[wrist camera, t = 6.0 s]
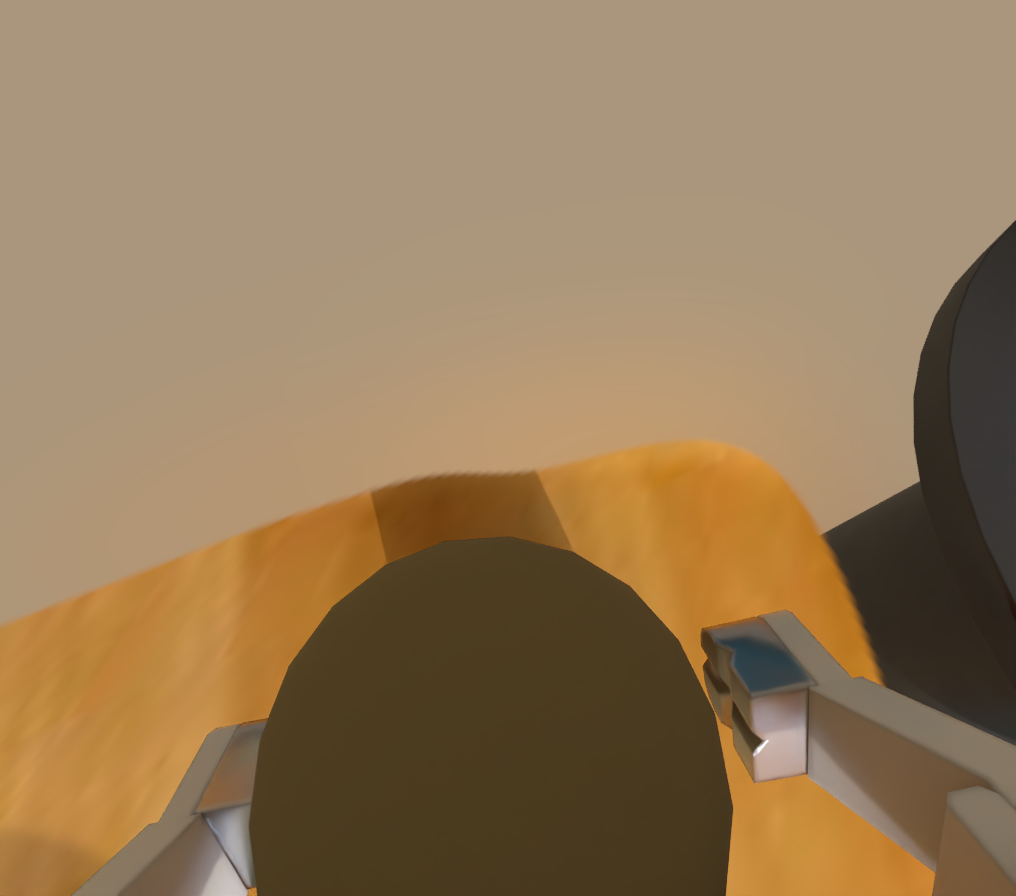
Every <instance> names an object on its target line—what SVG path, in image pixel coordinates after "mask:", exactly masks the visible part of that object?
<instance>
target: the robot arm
mask: <svg viewBox="0 0 1016 896" xmlns="http://www.w3.org/2000/svg"><path fill="white" fill-rule="evenodd" d="M701 647H702V648H703V650H704V652H705V653H706V655H707V657H708V659H707V660H706V662H705V663H704V665H703V671H704V679H705V684H706V687H707V691H708V695H709V698H710V700H711V703H712V705H713V707H714V710H715V712H716V714H717V716H718V717H719V719H720V721H721V723H723V724H724V725H726V726H728V727H729V728H731V729H732V730H733V744H734V747H735V749H736V751H737V753H738V755H739V757H740V758H741V760H742V762H743V764H744V766H745V767H746V769H747V771H748V773H749V775H750V777H751V778H752V780H753V782H754V783H759V782H765V781H770V780H776V779H782V778H788V777H793V776H799V775H805V774H808V777H809V778H810V779H811V780H813V781H814V782H815V783H816V784H818V785H819V786H820V787H822V788H823V789H824V790H826V791H827V792H828V793H830V794H831V795H832V796H834V797H835V798H836V799H838V800H839V801H840V802H842V803H843V804H844V805H846V806H847V807H848V808H850V809H851V810H852V811H854V812H855V813H856V814H858V815H859V816H860V817H862V818H863V819H864V820H866V821H867V822H868V823H870V824H871V825H872V826H874V827H875V828H876V829H878V830H879V831H880V832H882V833H883V834H884V835H886V836H887V837H888V838H890V839H891V840H892V841H894V842H895V843H896V844H898V845H899V846H900V847H902V848H903V849H904V850H906V851H907V852H908V853H910V854H911V855H912V856H914V857H915V858H916V859H918V860H919V861H920V862H922V863H923V864H924V865H926V866H927V867H928V868H930V869H931V870H932V871H934V872H935V880H934V887H933V893H932V896H1016V746H1014V745H1012V744H1010V743H1008V742H1006V741H1003V740H1001V739H999V738H997V737H994V736H992V735H990V734H988V733H986V732H983V731H981V730H979V729H977V728H974V727H972V726H970V725H968V724H966V723H963V722H961V721H959V720H957V719H954V718H952V717H950V716H948V715H946V714H943V713H941V712H939V711H937V710H935V709H932V708H930V707H928V706H926V705H923V704H921V703H919V702H917V701H915V700H912V699H910V698H908V697H906V696H903V695H901V694H899V693H897V692H895V691H892V690H890V689H888V688H886V687H883V686H881V685H879V684H877V683H875V682H872V681H870V680H868V679H866V678H864V677H857V678H852V677H851V676H850V675H849V674H848V673H847V672H846V671H845V670H844V669H843V667H842V666H841V665H840V664H839V663H838V662H837V661H836V660H835V659H834V658H833V657H832V656H831V654H830V653H829V652H828V651H827V650H826V649H825V648H824V647H823V646H822V645H821V644H820V643H819V641H818V640H817V639H816V638H815V637H814V636H813V635H812V634H811V633H810V632H809V631H808V629H807V628H806V627H805V626H804V625H803V624H802V623H801V622H800V621H799V620H798V619H797V618H796V616H795V615H794V614H793V613H792V612H790V611H788V610H782V611H777V612H773V613H768V614H764V615H759V616H757V617H751V618H747V619H742V620H738V621H733V622H728V623H724V624H719V625H715V626H710V627H706V628H702V630H701ZM267 720H268V718H266V719H261V720H255V721H250V722H244V723H242V724H237V725H231V726H226V727H220V728H216V729H214V730H213V731H212V732H211V733H209V734H208V735H207V737H206V738H205V740H204V742H203V744H202V745H201V747H200V749H199V751H198V752H197V754H196V756H195V758H194V760H193V761H192V763H191V765H190V767H189V769H188V770H187V772H186V774H185V776H184V777H183V779H182V781H181V783H180V785H179V786H178V788H177V790H176V792H175V793H174V795H173V797H172V799H171V801H170V802H169V804H168V806H167V808H166V810H165V811H164V813H163V815H162V817H161V818H160V820H159V822H157V823H152V824H149V825H148V826H147V827H146V828H144V829H143V830H142V831H141V832H140V833H139V834H138V835H137V836H136V837H135V838H133V839H132V840H131V841H130V842H129V843H128V844H127V845H126V846H125V847H124V848H123V849H121V850H120V851H119V852H118V853H117V854H116V855H115V856H114V857H113V858H112V859H111V860H109V861H108V862H107V863H106V864H105V865H104V866H103V867H102V868H101V869H100V870H99V871H97V872H96V873H95V874H94V875H93V876H92V877H91V878H90V879H89V880H88V881H86V882H85V883H84V884H83V885H82V886H81V887H80V888H79V889H78V890H77V891H76V892H74V893H73V894H72V895H71V896H246V895H247V894H248V890H247V889H251V888H255V887H256V880H255V873H254V865H253V857H252V850H251V842H250V834H249V826H248V825H249V818H250V810H251V802H252V795H253V787H254V779H255V771H256V764H257V756H258V748H259V741H260V738H261V735H262V733H263V730H264V728H265V725H266V723H267Z"/></svg>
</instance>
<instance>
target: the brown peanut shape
mask: <svg viewBox="0 0 1016 896" xmlns="http://www.w3.org/2000/svg"><path fill="white" fill-rule="evenodd" d="M732 815H733V805H732V800H731V794H730V789H729V784H728V779H727V773H726V768H725V763H724V758H723V752H722V747H721V742H720V737H719V732H718V726H717V721H716V717H715V713H714V711H713V709H712V707H711V705H710V703H709V701H708V699H707V697H706V695H705V693H704V691H703V688H702V686H701V684H700V682H699V680H698V678H697V676H696V674H695V672H694V670H693V668H692V666H691V664H690V662H689V660H688V658H687V656H686V654H685V652H684V650H683V648H682V646H681V644H680V642H679V640H678V639H677V638H676V637H675V636H674V634H673V633H672V632H671V631H670V630H669V629H668V628H667V627H666V626H665V624H664V623H663V622H662V621H661V620H660V619H659V618H658V617H657V616H656V615H655V613H654V612H653V611H652V610H651V609H650V608H649V607H648V606H647V605H646V603H645V602H644V601H643V600H642V599H641V598H640V597H639V596H638V595H637V594H636V592H635V591H634V590H633V589H632V588H631V587H630V586H629V585H627V584H625V583H624V582H622V581H620V580H619V579H617V578H616V577H614V576H612V575H611V574H609V573H607V572H606V571H604V570H602V569H601V568H599V567H597V566H596V565H594V564H592V563H591V562H589V561H587V560H586V559H584V558H582V557H581V556H579V555H578V554H576V553H574V552H572V551H568V550H563V549H559V548H555V547H551V546H547V545H543V544H539V543H535V542H531V541H527V540H522V539H518V538H514V537H496V538H483V539H469V540H455V541H444V542H442V543H439V544H437V545H434V546H432V547H429V548H427V549H424V550H422V551H419V552H417V553H414V554H412V555H409V556H407V557H404V558H402V559H399V560H397V561H394V562H392V563H389V564H387V565H385V566H384V567H382V568H381V569H380V570H379V571H377V572H376V573H375V574H373V575H372V576H371V577H370V578H368V579H367V580H366V581H365V582H363V583H362V584H361V585H360V586H358V587H357V588H356V589H354V590H353V591H352V592H351V593H349V594H348V595H347V596H346V597H344V598H343V599H342V600H340V601H339V602H338V603H337V604H335V605H334V606H333V607H332V608H331V609H330V611H329V612H328V614H327V615H326V616H325V618H324V619H323V620H322V622H321V623H320V624H319V626H318V627H317V629H316V630H315V631H314V633H313V634H312V635H311V637H310V638H309V639H308V641H307V642H306V644H305V645H304V646H303V648H302V649H301V650H300V652H299V653H298V654H297V656H296V657H295V658H294V660H293V661H292V663H291V664H290V665H289V667H288V670H287V672H286V675H285V677H284V680H283V682H282V685H281V687H280V690H279V692H278V695H277V697H276V700H275V703H274V705H273V708H272V710H271V713H270V715H269V718H268V720H267V723H266V725H265V728H264V730H263V733H262V735H261V738H260V741H259V748H258V756H257V764H256V771H255V779H254V787H253V795H252V802H251V810H250V818H249V825H248V826H249V834H250V842H251V850H252V857H253V865H254V873H255V880H256V888H257V896H726V885H727V874H728V862H729V850H730V838H731V827H732Z"/></svg>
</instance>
